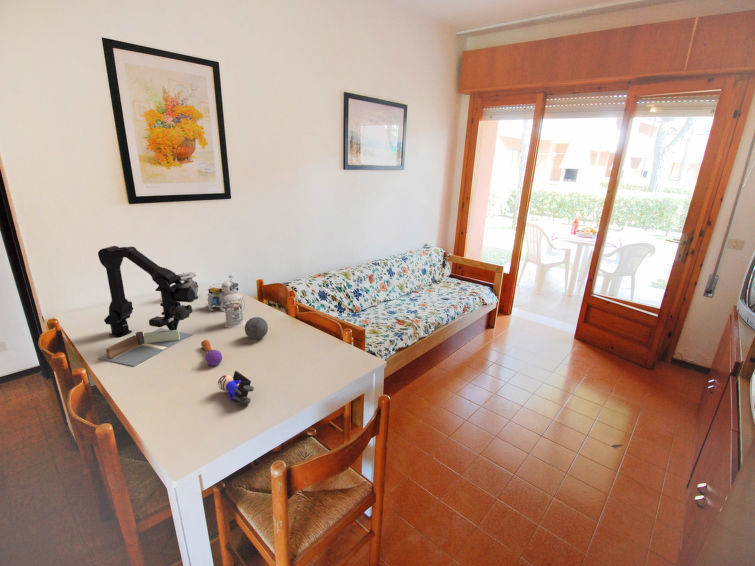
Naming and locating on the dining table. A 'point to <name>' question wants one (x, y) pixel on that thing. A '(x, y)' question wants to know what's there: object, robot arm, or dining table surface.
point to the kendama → (211, 354)
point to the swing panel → (161, 336)
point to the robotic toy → (221, 295)
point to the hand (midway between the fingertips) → (174, 333)
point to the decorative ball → (256, 328)
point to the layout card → (144, 350)
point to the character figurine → (236, 387)
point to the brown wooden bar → (125, 345)
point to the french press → (236, 320)
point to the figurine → (189, 281)
